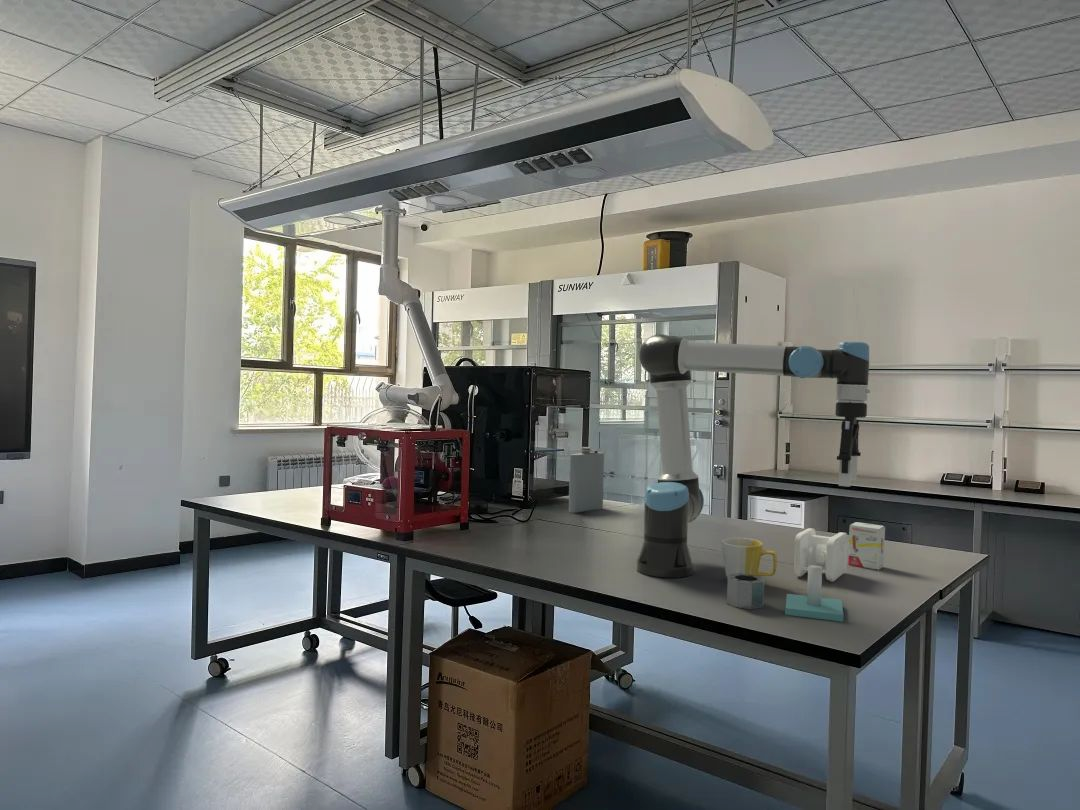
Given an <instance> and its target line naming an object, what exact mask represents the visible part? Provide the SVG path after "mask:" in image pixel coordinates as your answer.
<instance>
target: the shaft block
mask: <svg viewBox="0 0 1080 810" xmlns="http://www.w3.org/2000/svg"><path fill="white" fill-rule="evenodd" d="M822 583H823V573H822V567H821V566H816V565H809V566H808V572H807V590H806V591H807V592H806V593H807V594H806V595H803V594H802V595H801V594H792V593H786V600H785V608H784V609H785V610H784V614H785V616H792V617H794V616H795V617H801V618H808V619H809V618H810V619H815V620H817V619H818V620H826V621H833V622H834V621H835V622H842V623H843V622H844V611H843V602H842V599H835V598H827V597H822V587H823V586H822V585H823V584H822Z"/></svg>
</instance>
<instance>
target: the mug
mask: <svg viewBox="0 0 1080 810" xmlns="http://www.w3.org/2000/svg"><path fill="white" fill-rule="evenodd" d="M721 547H722V549H721V550H722V555H723V556H722V557H723V563H724V570H725V571H724V572H725V576H726V578H727V579H728V576H729V574H738V573H743V574H752V575H757V576H759V577H772V576H774V575H776V573H777V572H776V571H777V566H778V565H777V564H778V560H777V559H778V557H777V556H778V555H777V552H776V551H773V550H763V547H764V544H763V542H762V541H760V540H757V539H754V538H747V537H729V538H728V537H726V538H724V539H722V540H721ZM765 555H772V558H773V568H772V571H771V572H763V571H762V572H760V571H759V568H760V563H761V557H762V556H765Z"/></svg>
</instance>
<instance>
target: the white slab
mask: <svg viewBox="0 0 1080 810" xmlns="http://www.w3.org/2000/svg"><path fill="white" fill-rule="evenodd" d="M604 461H605V453H604V452H601V451H600V452H599V450H598V449H592V448H591V447H588V446H582V447H581V452H579V453H578V452H577V453H570V454H569V480H568V481H569V484H568V485H569V486H568V513H571V514H576V513H577V514H578V513H581V512H588V511H594V510H602V509H604V477H605V476H604V474H605V473H604V471H605V470H604V468H605V462H604Z"/></svg>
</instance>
